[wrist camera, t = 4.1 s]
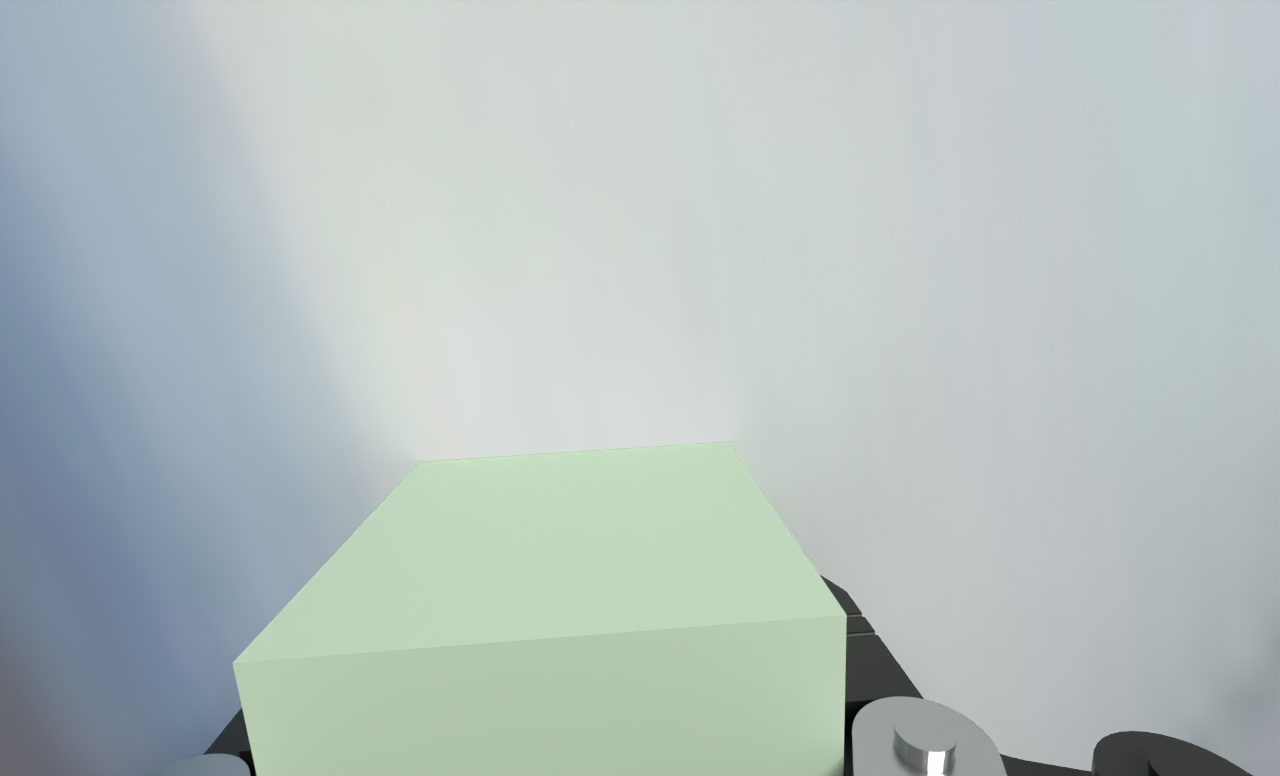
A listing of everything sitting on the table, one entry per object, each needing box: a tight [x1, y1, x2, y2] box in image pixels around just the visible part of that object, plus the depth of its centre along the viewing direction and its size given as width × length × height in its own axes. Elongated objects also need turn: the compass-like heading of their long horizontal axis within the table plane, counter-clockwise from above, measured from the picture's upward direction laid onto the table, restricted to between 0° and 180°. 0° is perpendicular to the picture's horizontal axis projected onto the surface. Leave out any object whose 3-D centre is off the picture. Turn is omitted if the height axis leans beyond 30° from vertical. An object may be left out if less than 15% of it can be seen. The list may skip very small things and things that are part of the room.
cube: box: [233, 442, 847, 776], centre depth 8 cm, size 5×5×5 cm
